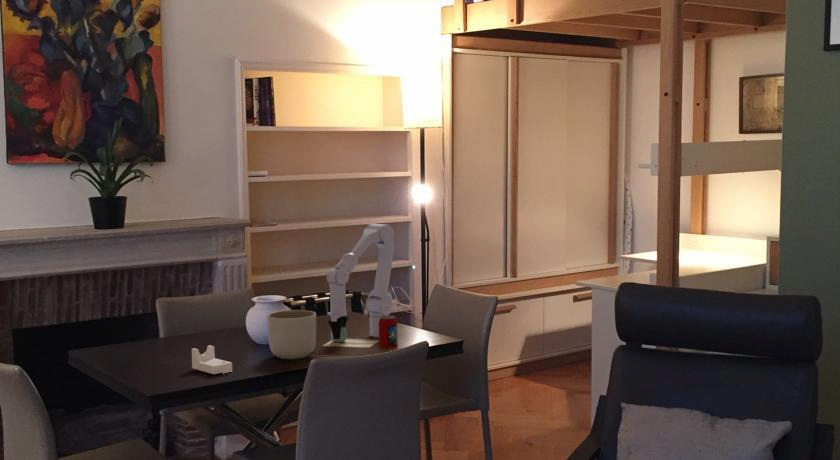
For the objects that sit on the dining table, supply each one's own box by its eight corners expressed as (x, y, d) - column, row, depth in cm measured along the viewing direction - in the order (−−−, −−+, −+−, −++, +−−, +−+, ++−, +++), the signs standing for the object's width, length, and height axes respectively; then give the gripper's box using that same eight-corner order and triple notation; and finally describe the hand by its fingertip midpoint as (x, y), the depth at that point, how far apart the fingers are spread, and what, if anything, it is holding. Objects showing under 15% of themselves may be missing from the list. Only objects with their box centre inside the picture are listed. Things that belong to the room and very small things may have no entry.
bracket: (192, 370, 318) (191, 348, 318) (210, 367, 323) (210, 345, 323) (213, 377, 309) (213, 354, 308) (232, 373, 314) (231, 350, 313)
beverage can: (395, 351, 343) (394, 318, 342) (377, 350, 344) (376, 318, 343) (399, 347, 349) (399, 315, 348) (381, 347, 351) (381, 314, 350)
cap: (342, 337, 358) (342, 326, 358) (348, 340, 353) (348, 328, 353) (329, 339, 356) (328, 327, 355) (334, 341, 351) (334, 329, 350)
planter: (280, 364, 325) (279, 320, 324) (260, 355, 339) (259, 313, 338) (325, 357, 334) (324, 315, 333) (304, 349, 348) (303, 308, 347)
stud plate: (334, 341, 362) (334, 330, 362) (380, 343, 358) (380, 332, 358) (322, 348, 349) (322, 337, 348) (369, 350, 344) (369, 339, 344)
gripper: (332, 297, 361) (332, 333, 362) (322, 304, 347) (323, 340, 348) (350, 298, 360) (351, 333, 361) (341, 304, 346) (342, 341, 347)
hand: (338, 337), depth 354 cm, fingers closed on cap, 6 cm apart
